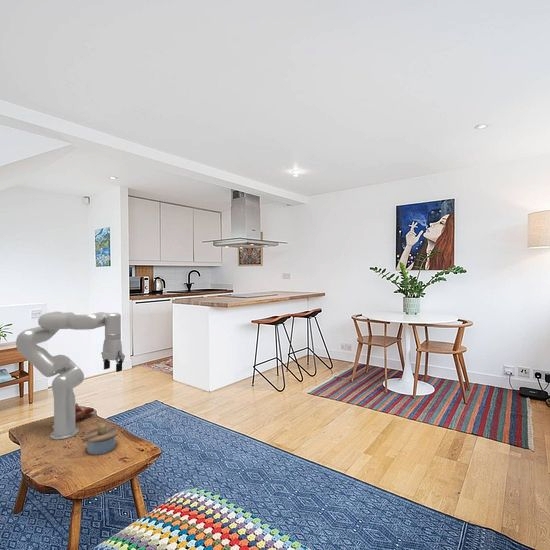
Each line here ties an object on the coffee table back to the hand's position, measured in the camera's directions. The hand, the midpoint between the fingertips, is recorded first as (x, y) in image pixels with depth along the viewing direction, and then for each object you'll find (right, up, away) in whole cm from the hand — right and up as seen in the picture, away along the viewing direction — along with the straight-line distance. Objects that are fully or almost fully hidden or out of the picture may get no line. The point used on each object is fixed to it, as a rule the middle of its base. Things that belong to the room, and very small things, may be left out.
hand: (112, 370), depth 180 cm
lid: (+1, -27, -14) cm, 31 cm away
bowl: (+1, -33, -14) cm, 36 cm away
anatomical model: (-30, -34, +20) cm, 49 cm away
